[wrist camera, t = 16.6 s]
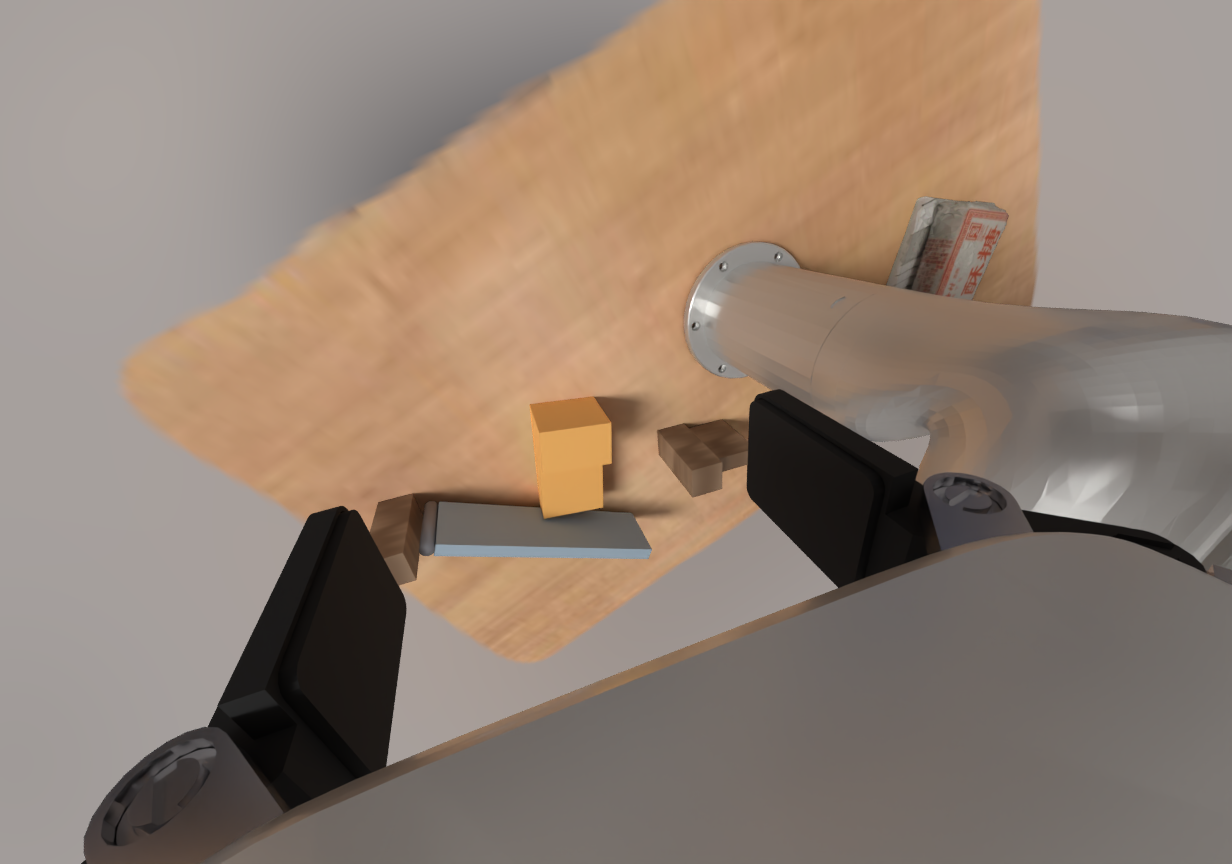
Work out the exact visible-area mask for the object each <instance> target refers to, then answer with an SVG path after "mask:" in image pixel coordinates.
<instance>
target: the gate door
mask: <svg viewBox="0 0 1232 864" xmlns="http://www.w3.org/2000/svg"><path fill="white" fill-rule="evenodd" d="M651 551H652V549H651V547H650V545H649V543H648V541H647V540H646V538H645V536H644V534H643V532H642V530H641V529H640V527H639V525H638V523H637V521H636V520H635V518H634V516H633V514H632V513H623V512H606V511H589V510H587V511H582V512H577V513H572V514H566V515H561V516H556V517H551V518H546V519H544V517H543V513H542V509H541V508H539V507H522V506H505V505H489V504H472V503H455V502H439V505H438V504H437V503H436V502H434V501H429V502H427V503H426V504H425V505H424V513H423V521H422V529H421V537H420V545H419V553H420V554H421V555H423V556H429V555H432V554H433V553H434V556H472V557H546V558H620V559H648V558H649V556H650V553H651Z"/></svg>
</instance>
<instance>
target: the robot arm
mask: <svg viewBox="0 0 1232 864" xmlns="http://www.w3.org/2000/svg"><path fill="white" fill-rule="evenodd" d="M720 264H721V266H720V268H719V265H720ZM693 323H694V324H693ZM692 324H693V326H692ZM684 333H685V339H686V342H687V345H688V348H689V350H690V352H691V354H692V355H693V357H694V358H695V360H696V361H697V362H698V363H699V364H700V365H701V366H702V367H703V368H705V369H707V370H708V371H709V372H711V373H713V374H715V375H717V376H720V377H725V378H743V377H747V376H749V377H751V378H752V379H754V380H756V381H757V382H759V383H761V384H762V385H764V386H766V387H767V388H769V389H771V390H772V391H769V392H765V393H762V394H758V395H757V396H756V398H755V400H754V401H753V402H752V403H751V405H750V412H749V438H748V465H747V491H748V494H749V496H750V498H751V499H752V500H753V501H754V502H755V503H756V504H757V505H758V506H759V507H760V508H761V509H762V511H763V512H764V513H765V514H767V516H768V517H769V518H770V519H771V520H772V521H773V522H774V523H775V524H776V525H777V526H778V527H779V528H780V529H781V530H782V531H783V532H784V533H785V534H786V535H787V536H788V537H789V538H790V539H791V540H792V541H793V542H794V543H795V544H796V545H797V546H798V547H799V548H800V549H801V550H802V551H803V552H804V553H805V554H806V555H807V556H808V557H809V558H810V559H811V560H812V561H813V562H814V563H815V564H816V565H817V566H818V567H819V568H820V569H821V571H823V573H825V575H826V576H827V577H829V579H830V580H831V581H832V582H833V583H834V584H835V585H836V586H837V587H838V589H835V590H832V591H830V592H827V593H825V594H822V595H820V596H817V597H814V598H812V599H809V600H806V601H804V602H801V603H798V604H796V605H793V606H791V607H788V608H786V609H783V610H780V611H778V612H775V613H772V614H770V615H767V616H765V617H762V618H759V619H757V620H754V621H752V622H749V623H746V624H744V625H741V626H739V627H736V628H734V629H731V630H728V631H726V632H723V633H721V634H718V635H716V636H713V637H710V638H708V639H705V640H703V641H700V642H698V643H695V644H693V645H690V646H687V647H685V648H682V649H680V650H677V651H674V652H672V653H669V654H667V655H664V656H662V657H659V658H657V659H654V660H651V661H649V662H647V663H644V664H641V665H639V666H636V667H634V668H631V669H628V670H626V671H623V672H621V673H618V674H616V675H613V676H611V677H608V678H605V679H603V680H600V681H598V682H596V683H593V684H590V685H588V686H585V687H583V688H580V689H578V690H575V691H573V692H570V693H568V694H565V695H563V696H560V697H557V698H555V699H552V700H550V701H547V702H545V703H543V704H540V705H537V706H535V707H532V708H530V709H527V710H525V711H522V712H520V713H517V714H515V715H512V716H510V717H507V718H505V719H502V720H500V721H497V722H495V723H492V724H490V725H487V726H485V727H482V728H479V729H477V730H474V731H472V732H469V733H467V734H464V735H462V736H459V737H457V738H455V739H452V740H450V741H447V742H445V743H442V744H440V745H437V746H435V747H433V748H430V749H428V750H426V751H423V752H421V753H419V754H416V755H413V756H411V757H409V758H406V759H404V760H401V761H399V762H396V763H394V764H392V765H389V766H387V767H386V763H387V756H388V748H389V740H390V733H391V725H392V718H393V710H394V702H395V695H396V687H397V680H398V672H399V664H400V657H401V649H402V641H403V634H404V626H405V618H406V602H405V598H404V595H403V593H402V591H401V589H400V588H399V586H398V584H397V582H396V580H395V578H394V577H393V575H392V573H391V571H390V569H389V567H388V566H387V564H386V562H385V560H384V558H383V556H382V555H381V553H380V551H379V549H378V547H377V545H376V543H375V542H374V540H373V538H372V536H371V534H370V532H369V531H368V529H367V527H366V525H365V523H364V521H363V520H362V518H361V516H360V514H359V513H358V512H357V511H356V510H351V511H348V509H346V508H345V507H344V506H339V507H335V508H332V509H328V510H324V511H320V512H317V513H313V514H311V515H310V516H309V517H308V519H307V521H306V523H305V525H304V527H303V529H302V531H301V533H300V535H299V538H298V540H297V542H296V544H295V546H294V548H293V550H292V552H291V554H290V556H289V558H288V560H287V562H286V565H285V567H284V569H283V571H282V573H281V575H280V577H279V579H278V581H277V583H276V585H275V588H274V589H273V592H272V593H271V596H270V598H269V600H268V602H267V604H266V606H265V608H264V610H263V613H262V614H261V616H260V618H259V620H258V623H257V625H256V627H255V629H254V631H253V633H252V635H251V637H250V639H249V641H248V644H247V645H246V647H245V649H244V652H243V654H242V656H241V658H240V660H239V662H238V664H237V666H236V668H235V670H234V672H233V674H232V677H231V678H230V681H229V683H228V685H227V687H226V689H225V691H224V693H223V695H222V697H221V699H220V701H219V703H218V707H217V709H216V711H215V713H214V715H213V717H212V719H211V721H210V723H209V725H208V727H202V728H199V729H195V730H192V731H188V732H186V733H183V734H181V735H179V736H177V737H176V738H173V739H171V740H170V741H168V742H166V743H164V744H163V745H161V746H160V747H159V748H157V749H156V750H154V751H153V752H151V753H150V754H148V755H147V756H146V757H144V758H143V759H142V760H141V761H140V762H139V763H138V764H136V765H135V766H134V767H133V768H132V769H131V770H130V771H129V772H127V773H126V774H125V775H124V776H123V777H122V779H121V780H120V781H119V782H118V783H117V784H116V785H115V786H114V787H113V789H112V790H111V791H110V792H109V793H108V794H107V795H106V797H105V798H104V800H103V801H102V803H101V804H100V806H99V807H98V809H97V810H96V812H95V813H94V815H93V816H92V818H91V821H90V823H89V826H88V828H87V831H86V833H85V836H84V856H85V859H86V860H85V861H84V862H83V863H81V864H1232V325H1228V324H1223V323H1218V322H1213V321H1208V320H1203V319H1198V318H1192V317H1187V316H1177V315H1167V314H1157V313H1147V312H1133V311H1110V310H1086V309H1063V308H1043V307H1030V306H1019V305H1007V304H996V303H986V302H980V301H973V300H966V299H960V298H953V297H947V296H940V295H934V294H929V293H923V292H918V291H913V290H908V289H901V288H896V287H891V286H886V285H881V284H876V283H871V282H866V281H860V280H855V279H850V278H845V277H840V276H835V275H830V274H824V273H819V272H814V271H809V270H804V269H801V268H800V266H799V264H798V263H797V261H796V260H795V259H794V257H793V256H792V255H791V254H790V253H788V252H787V251H786V250H785V249H783V248H781V247H779V246H777V245H775V244H770V243H765V242H753V241H752V242H746V243H741V244H738V245H735V246H733V247H730V248H728V249H727V250H725V251H724V252H722V253H720V254H719V255H717V256H716V257H715V258H714V259H713V260H712V261H711V262H710V263H709V264H708V265H707V266H706V267H705V268H704V270H703V271H702V272H701V273H700V275H699V276H698V278H697V279H696V281H695V283H694V285H693V287H692V289H691V291H690V294H689V297H688V300H687V302H686V308H685V313H684ZM926 435H930V441H929V446H928V448H927V450H926V453H925V455H924V457H923V460H922V462H921V464H920V467H919V470H918V468H916V467H914V466H913V465H911V464H909V463H907V462H906V461H904V460H902V459H901V458H899V457H897V456H895V455H894V454H892V453H890V452H888V451H887V450H885V449H883V448H882V447H880V446H878V445H876V444H875V443H873V442H871V441H875V442H886V441H899V440H906V439H912V438H917V437H922V436H926Z"/></svg>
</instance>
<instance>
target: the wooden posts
mask: <svg viewBox="0 0 1232 864" xmlns="http://www.w3.org/2000/svg"><path fill="white" fill-rule="evenodd" d="M657 433H658V447H659V455H660V457H661V458H662V459H663V460H664V462H665V463H666V464H667V465H668V467H669V468H670V469H671V471H672V472H673V473H674V474H675V476H676V477H677V478H678V480H679V481H680V482H681V483H682V485H683V486H684V487H685V488H686V490H687V491H688V492H689V494H690V495H691V496H692V497H696V496H700V495H703V494H706V493H710V492H713V491H716V490H720V489H722V472H723V471H727V470H730V469H734V468H737V467H740V466H744V465H747V464H748V441H747V440H746V439H745V438H744V437H743V436H741V435H740V434H739V433H738V432H737V431H735V430H734V429H733V428H732V427H731V426H729V425H728V424H727V423H726V422H725V421H723V420H718V421H714V422H710V423H707V424H703V425H699V426H695V427H691V428H688V427H687V426H686V425H685V424H680V425H677V426H673V427H669V428H665V429H661V430H657ZM422 521H423V516H422V513H421V511H420V509H419V506H418V504H417V502H416V499H415V497H414V495H413V494H409V495H405V496H401V497H398V498H394V499H390V500H386V501H382V502H378V505H377V509H376V512H375V516H374V519H373V523H372V527H371V530H370V534H371V536H372V538H373V540H374V542H375V543H376V545H377V547H378V549H379V551H380V553H381V555H382V556H383V558H384V560H385V562H386V564H387V566H388V567H389V569H390V571H391V573H392V575H393V577H394V578H395V580H396V582H397V584H398V585H402V584H405V583H408V582H412V581H415V580H416V578H417V569H418V561H419V545H420V537H421V529H422Z"/></svg>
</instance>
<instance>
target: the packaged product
mask: <svg viewBox="0 0 1232 864" xmlns="http://www.w3.org/2000/svg"><path fill="white" fill-rule="evenodd" d="M1008 216H1009V215H1008V214H1007V213H1006V211H1005V210H1003V209H999V208H998V207H996V206H995V204H994V203H987V202H978V201H976V202H970V201H969V202H964V201H954V200H946V199H939V198H932V197H921V198H918V199H917V201H916V204H915V207H914V210H913V212H912V215H911V218H910V221H909V224H908V227H907V230H906V233H905V236H904V238H903V241H902V243H901V246H900V249H899V251H898V254H897V256H896V259H895V262H894V264H893V267H892V270H891V273H890V276H889V279H888V281H887V284H886V286H891V287H896V288H901V289H908V290H913V291H918V292H923V293H929V294H934V295H940V296H947V297H953V298H960V299H966V300H972V298H973V297H974V294H975V292H976V289H977V287H978V285H979V283H980V281H981V279H982V276H983V274H984V272H985V270H986V268H987V265H988V263H989V261H990V258H991V256H992V254H993V252H994V250H995V248H996V246H997V243H998V240H999V239H1000V236H1001V234H1002V232H1003V230H1004V229H1005V226H1006V223H1007V219H1008Z"/></svg>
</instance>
